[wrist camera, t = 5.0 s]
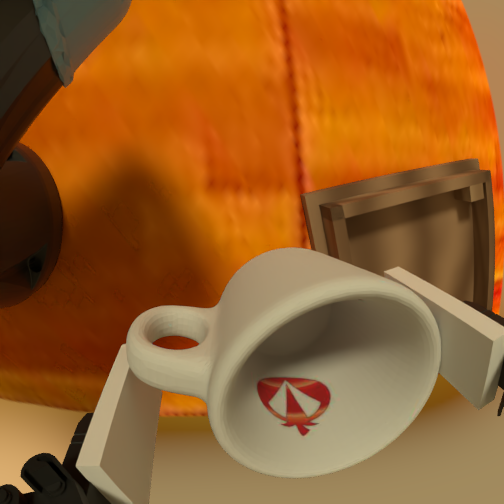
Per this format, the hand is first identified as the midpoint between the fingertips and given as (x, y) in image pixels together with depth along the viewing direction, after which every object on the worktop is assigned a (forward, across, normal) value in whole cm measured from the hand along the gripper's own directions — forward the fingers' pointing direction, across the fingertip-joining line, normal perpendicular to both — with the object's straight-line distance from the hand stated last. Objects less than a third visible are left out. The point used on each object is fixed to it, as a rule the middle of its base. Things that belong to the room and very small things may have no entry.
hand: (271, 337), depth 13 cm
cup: (+4, 0, 0) cm, 4 cm away
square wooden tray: (+14, +16, -6) cm, 22 cm away
